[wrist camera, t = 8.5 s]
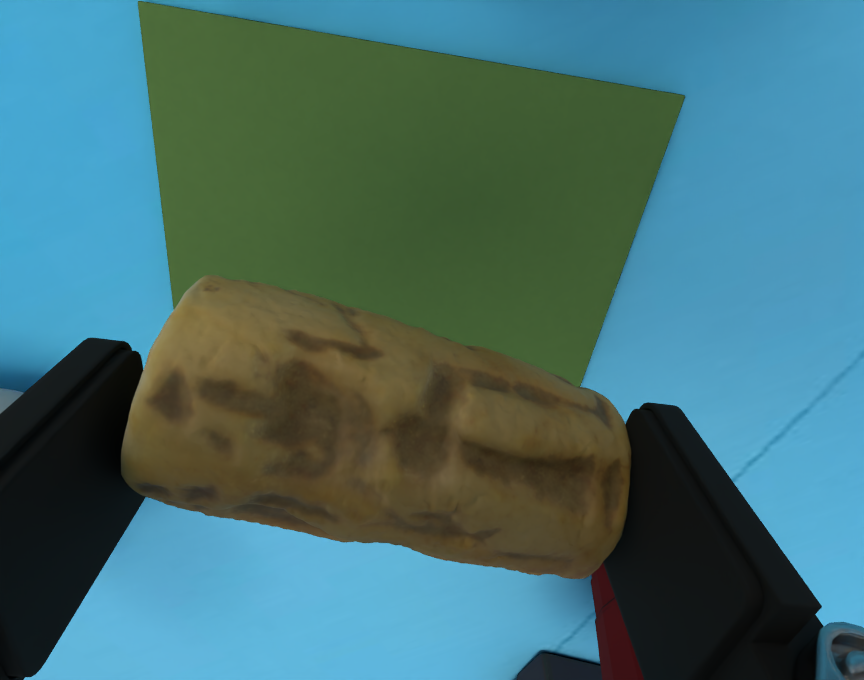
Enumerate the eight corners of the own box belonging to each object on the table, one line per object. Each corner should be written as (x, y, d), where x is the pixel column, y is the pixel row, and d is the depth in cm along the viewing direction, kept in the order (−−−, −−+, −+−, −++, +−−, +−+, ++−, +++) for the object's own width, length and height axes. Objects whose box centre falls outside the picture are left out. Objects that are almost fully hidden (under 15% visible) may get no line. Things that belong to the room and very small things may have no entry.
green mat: (680, 94, 20) (686, 95, 19) (575, 387, 27) (578, 392, 26) (143, 1, 18) (136, 0, 17) (181, 341, 25) (177, 346, 24)
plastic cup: (597, 496, 31) (686, 726, 20) (746, 533, 33) (897, 760, 22) (523, 600, 36) (565, 826, 25) (656, 626, 38) (745, 847, 27)
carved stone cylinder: (607, 364, 11) (688, 507, 8) (521, 494, 13) (554, 657, 9) (226, 229, 10) (108, 328, 6) (194, 398, 11) (88, 548, 8)
